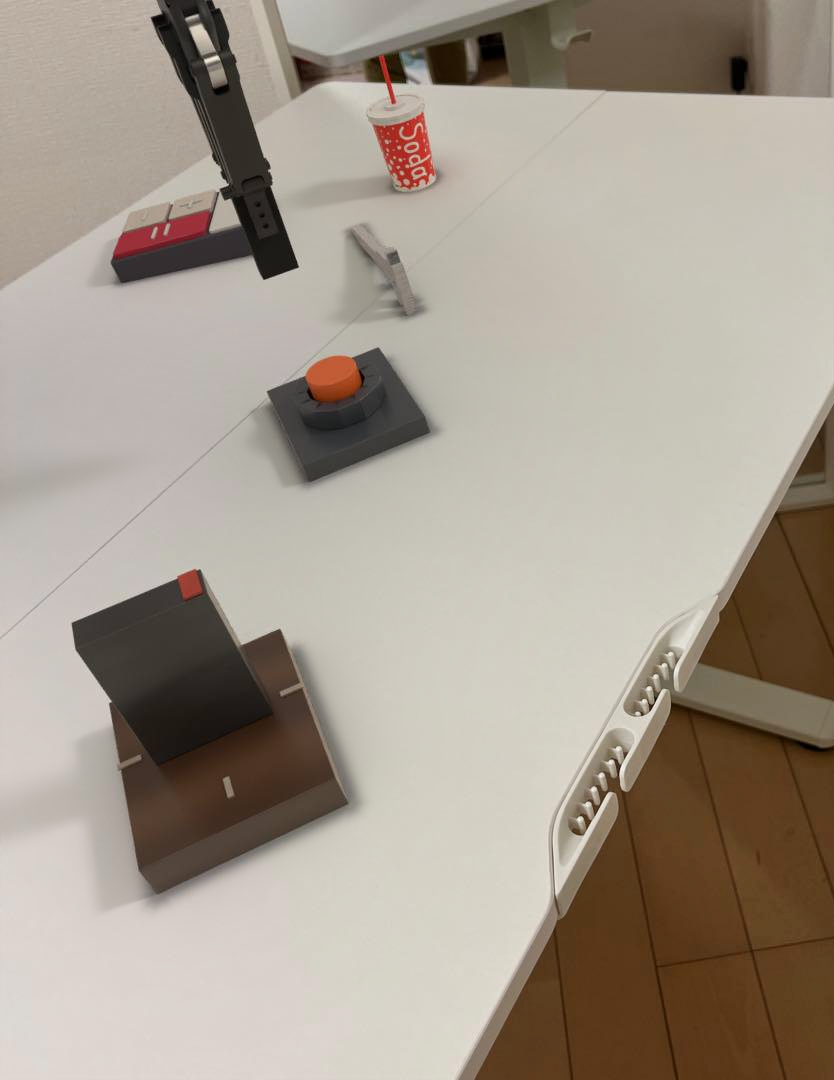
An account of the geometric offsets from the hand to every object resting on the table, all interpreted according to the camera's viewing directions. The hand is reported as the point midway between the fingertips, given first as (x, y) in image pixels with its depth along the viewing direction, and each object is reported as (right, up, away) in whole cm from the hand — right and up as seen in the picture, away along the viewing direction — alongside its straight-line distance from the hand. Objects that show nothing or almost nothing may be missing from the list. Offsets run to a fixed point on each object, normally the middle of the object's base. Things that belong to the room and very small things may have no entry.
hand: (278, 269), depth 79 cm
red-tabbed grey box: (0, -30, -16) cm, 34 cm away
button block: (+4, -10, +9) cm, 14 cm away
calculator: (-18, +12, +39) cm, 44 cm away
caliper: (+4, +6, +27) cm, 28 cm away
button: (+3, -8, +7) cm, 11 cm away
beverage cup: (+5, +19, +40) cm, 45 cm away
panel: (+1, -33, -14) cm, 36 cm away
